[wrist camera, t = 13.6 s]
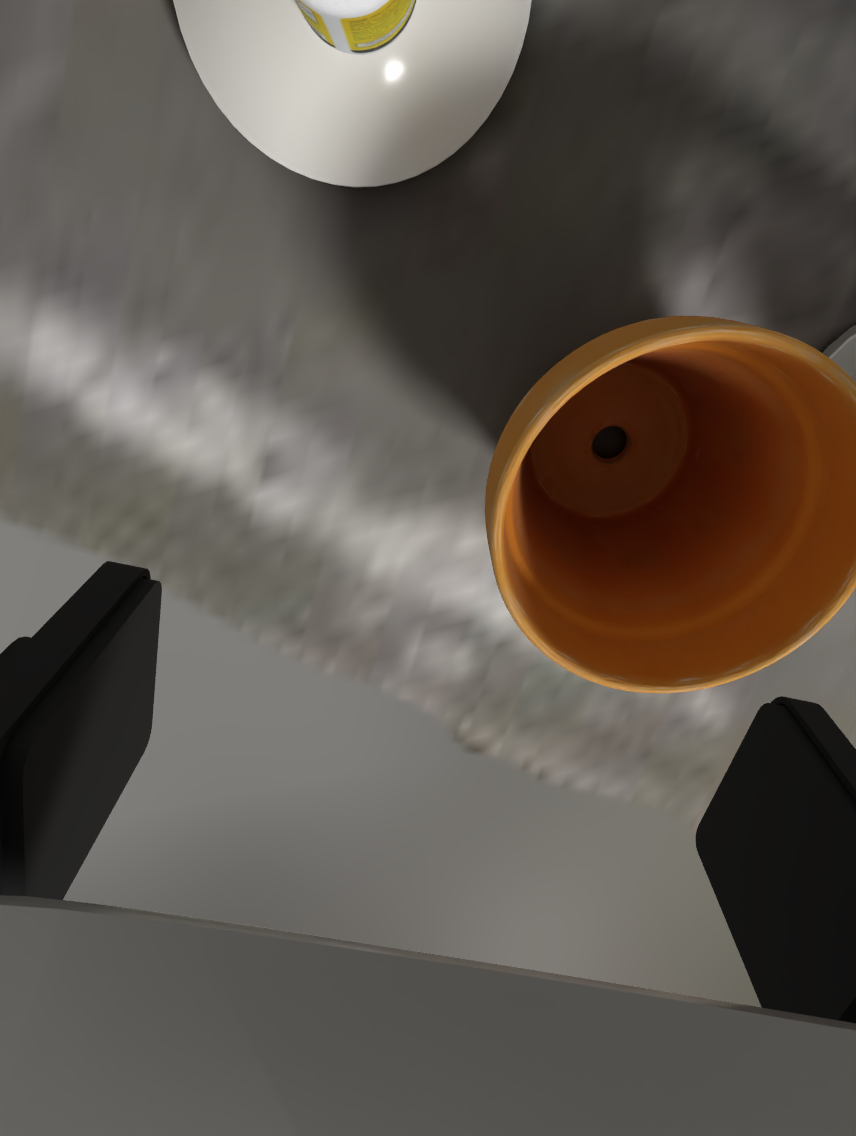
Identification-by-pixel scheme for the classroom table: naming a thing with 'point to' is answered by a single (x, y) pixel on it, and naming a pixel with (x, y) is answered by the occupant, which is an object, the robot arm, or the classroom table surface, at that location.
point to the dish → (355, 84)
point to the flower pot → (677, 504)
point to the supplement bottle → (357, 22)
